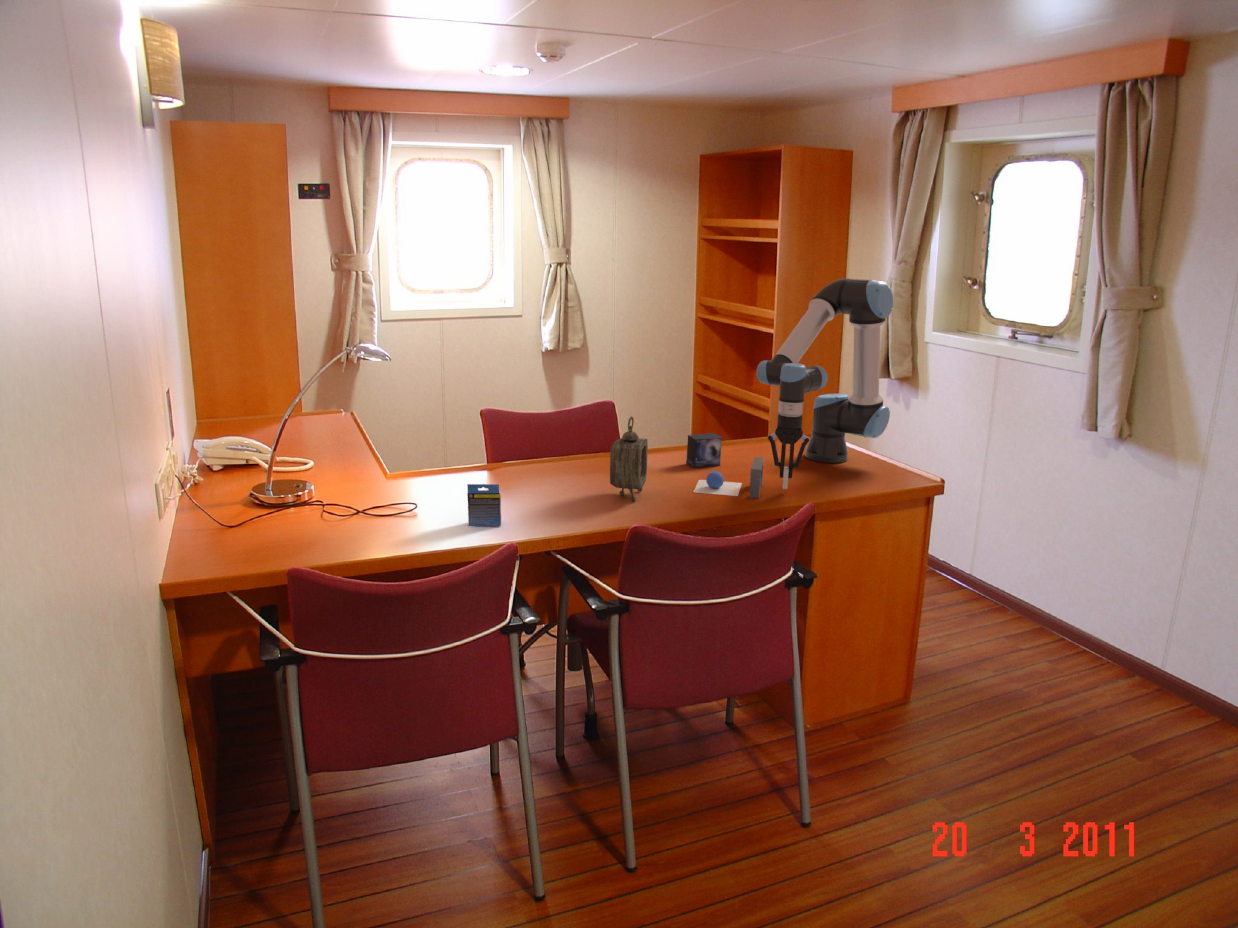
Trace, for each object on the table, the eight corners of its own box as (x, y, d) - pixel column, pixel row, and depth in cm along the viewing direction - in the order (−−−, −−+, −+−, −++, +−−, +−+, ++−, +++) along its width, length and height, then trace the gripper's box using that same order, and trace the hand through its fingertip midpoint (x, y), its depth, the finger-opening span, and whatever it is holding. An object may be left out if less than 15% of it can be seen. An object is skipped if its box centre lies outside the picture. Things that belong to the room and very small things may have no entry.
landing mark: (699, 480, 293) (699, 479, 293) (741, 483, 290) (741, 482, 290) (693, 492, 280) (693, 491, 280) (737, 496, 277) (738, 495, 277)
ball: (726, 474, 286) (719, 488, 287) (711, 466, 286) (703, 481, 287) (726, 478, 280) (718, 493, 282) (710, 471, 280) (702, 485, 282)
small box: (693, 468, 306) (695, 439, 303) (685, 463, 312) (686, 434, 309) (721, 466, 310) (722, 436, 307) (712, 461, 316) (713, 432, 313)
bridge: (749, 497, 276) (750, 468, 273) (752, 484, 290) (754, 456, 287) (759, 498, 275) (760, 469, 273) (762, 484, 289) (763, 457, 286)
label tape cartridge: (501, 522, 250) (501, 480, 247) (500, 527, 246) (499, 484, 243) (469, 522, 250) (468, 480, 246) (468, 526, 246) (466, 484, 243)
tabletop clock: (638, 504, 267) (640, 423, 261) (608, 502, 269) (609, 421, 262) (646, 490, 281) (648, 412, 274) (618, 488, 283) (619, 411, 276)
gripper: (768, 415, 272) (763, 489, 278) (811, 418, 269) (805, 492, 275) (769, 410, 279) (764, 482, 285) (812, 413, 276) (806, 486, 282)
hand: (785, 487), depth 280 cm, fingers closed
